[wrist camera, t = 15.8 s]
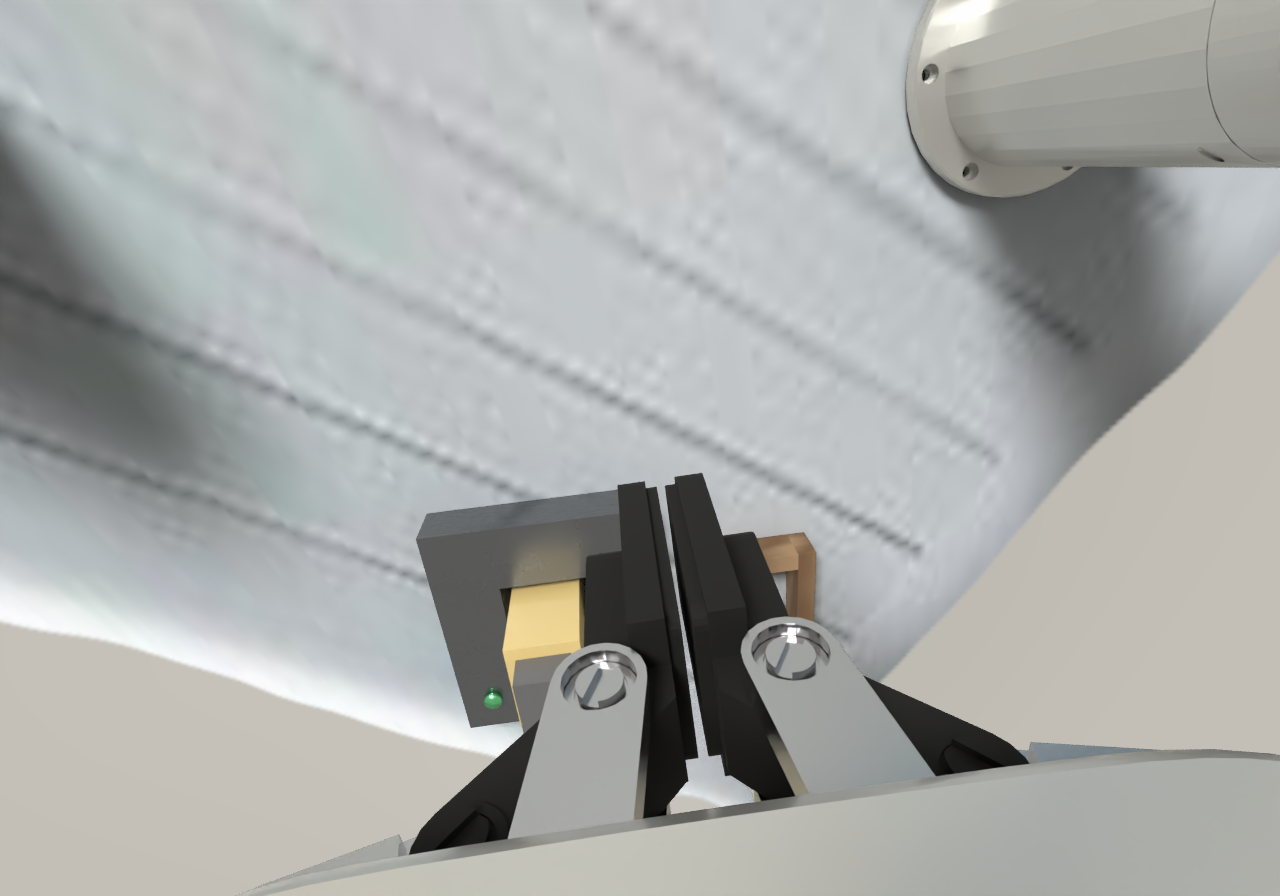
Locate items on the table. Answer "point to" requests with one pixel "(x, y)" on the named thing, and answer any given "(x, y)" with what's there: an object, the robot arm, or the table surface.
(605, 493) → the port
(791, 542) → the frame
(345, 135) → the table surface
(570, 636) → the plug
